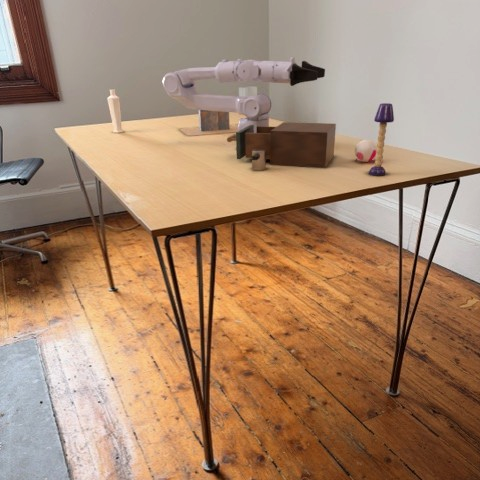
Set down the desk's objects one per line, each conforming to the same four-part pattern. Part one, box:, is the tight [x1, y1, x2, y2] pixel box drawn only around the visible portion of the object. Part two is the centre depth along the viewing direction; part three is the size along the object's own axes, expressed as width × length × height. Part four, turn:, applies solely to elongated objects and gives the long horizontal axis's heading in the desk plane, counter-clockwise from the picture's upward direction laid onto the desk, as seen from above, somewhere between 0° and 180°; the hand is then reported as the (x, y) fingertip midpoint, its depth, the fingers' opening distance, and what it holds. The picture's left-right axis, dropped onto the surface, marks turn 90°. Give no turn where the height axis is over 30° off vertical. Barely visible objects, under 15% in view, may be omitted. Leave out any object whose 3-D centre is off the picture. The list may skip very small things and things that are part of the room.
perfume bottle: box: [106, 88, 124, 134], centre depth 185 cm, size 5×4×15 cm
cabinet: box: [269, 121, 337, 168], centre depth 138 cm, size 16×15×9 cm
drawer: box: [226, 125, 276, 160], centre depth 142 cm, size 19×13×7 cm
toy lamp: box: [368, 102, 395, 176], centre depth 121 cm, size 5×5×17 cm
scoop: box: [251, 148, 267, 171], centre depth 131 cm, size 6×4×5 cm, turn 162°
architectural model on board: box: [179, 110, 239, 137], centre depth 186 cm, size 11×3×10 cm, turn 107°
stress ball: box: [354, 139, 377, 163], centre depth 136 cm, size 8×8×7 cm
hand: (320, 74), depth 139 cm, fingers open, 7 cm apart
